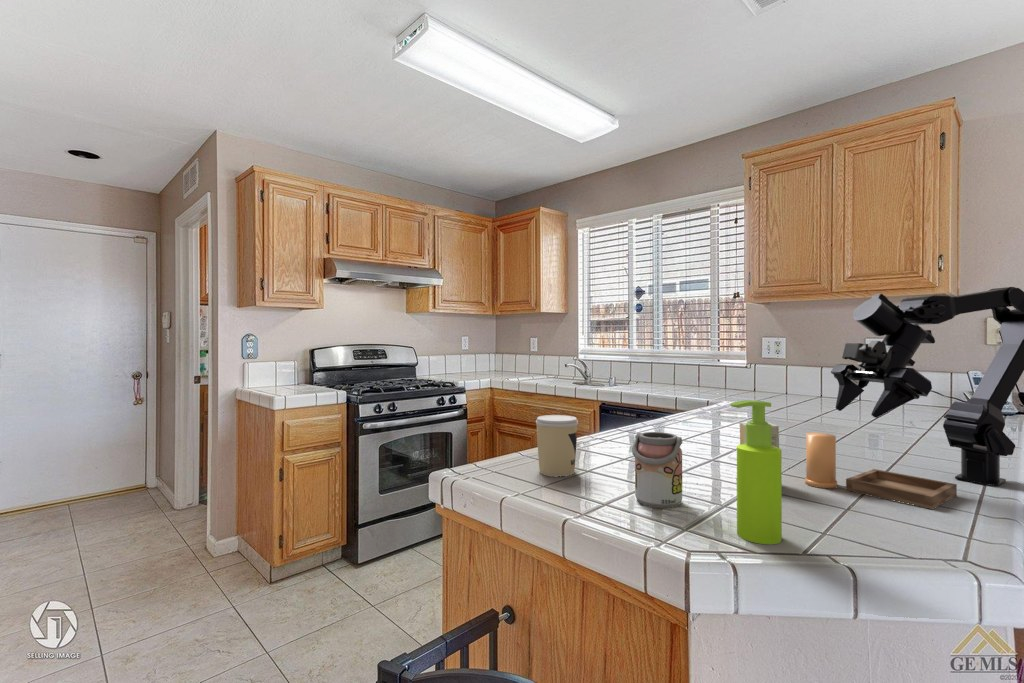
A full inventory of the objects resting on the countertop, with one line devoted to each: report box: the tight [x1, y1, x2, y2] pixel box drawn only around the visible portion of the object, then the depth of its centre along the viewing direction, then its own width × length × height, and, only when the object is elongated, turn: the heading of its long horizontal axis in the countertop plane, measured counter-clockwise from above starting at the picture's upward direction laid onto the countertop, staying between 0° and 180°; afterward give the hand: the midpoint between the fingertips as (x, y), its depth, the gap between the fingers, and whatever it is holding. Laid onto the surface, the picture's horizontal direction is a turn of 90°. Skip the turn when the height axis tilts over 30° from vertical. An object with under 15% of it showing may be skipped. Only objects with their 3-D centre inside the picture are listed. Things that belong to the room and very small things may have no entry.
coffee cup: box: [535, 414, 579, 478], centre depth 107 cm, size 9×9×12 cm
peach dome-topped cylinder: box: [804, 432, 838, 489], centre depth 97 cm, size 5×5×10 cm
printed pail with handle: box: [631, 431, 683, 509], centre depth 86 cm, size 9×8×12 cm
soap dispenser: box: [729, 399, 783, 545], centre depth 71 cm, size 6×7×20 cm
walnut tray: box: [845, 468, 958, 510], centre depth 92 cm, size 13×13×2 cm
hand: (854, 412), depth 97 cm, fingers open, 9 cm apart
